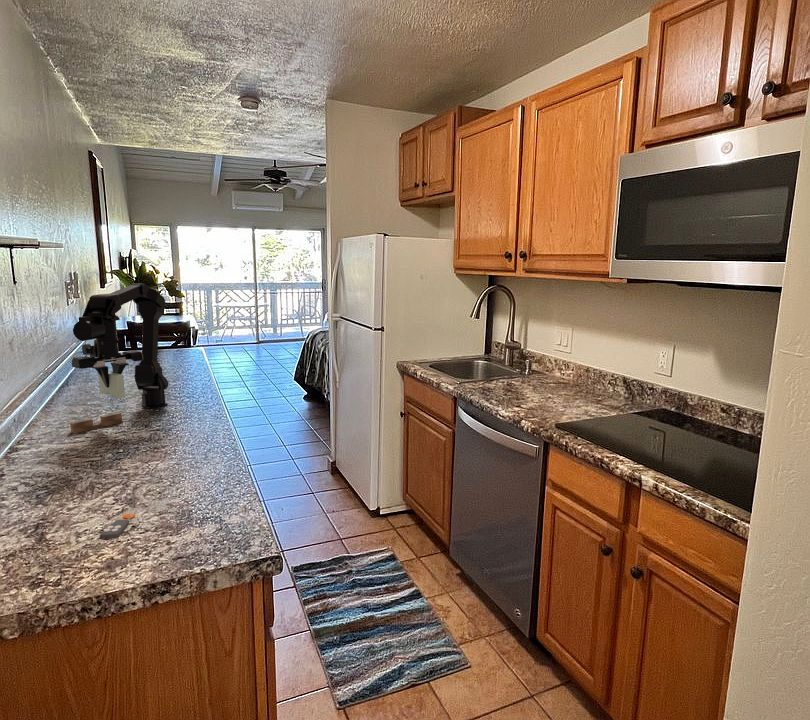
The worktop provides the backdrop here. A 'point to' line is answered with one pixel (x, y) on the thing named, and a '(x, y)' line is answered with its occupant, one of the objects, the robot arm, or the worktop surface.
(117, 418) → the walnut rail
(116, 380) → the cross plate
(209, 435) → the worktop surface
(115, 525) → the key chain
